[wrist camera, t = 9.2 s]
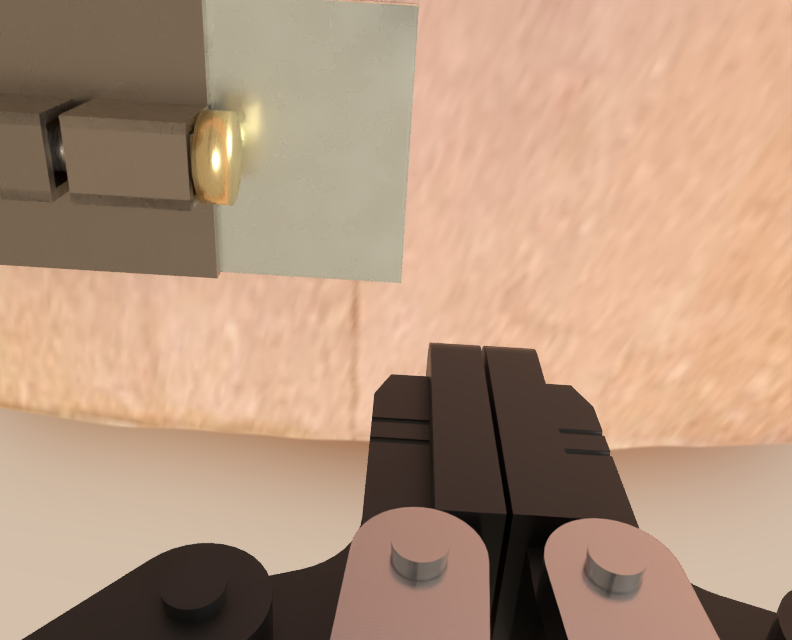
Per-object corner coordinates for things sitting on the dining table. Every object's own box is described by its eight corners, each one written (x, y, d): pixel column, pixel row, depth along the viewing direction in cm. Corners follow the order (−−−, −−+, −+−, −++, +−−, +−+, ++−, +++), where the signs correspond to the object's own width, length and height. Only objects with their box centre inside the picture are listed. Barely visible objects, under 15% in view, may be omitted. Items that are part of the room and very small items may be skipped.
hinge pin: (-39, 85, 41) (-94, 102, 37) (240, 102, 41) (219, 121, 37) (-21, 173, 44) (-71, 199, 39) (243, 190, 44) (224, 218, 39)
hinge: (-39, -27, 41) (-119, -22, 35) (418, 1, 41) (419, 12, 35) (13, 250, 48) (-46, 294, 42) (401, 274, 48) (398, 322, 42)
